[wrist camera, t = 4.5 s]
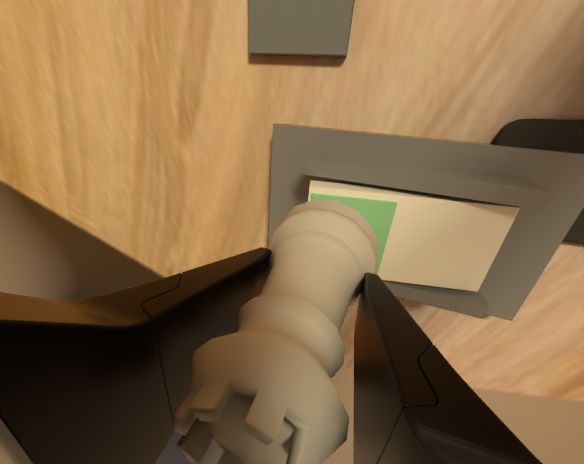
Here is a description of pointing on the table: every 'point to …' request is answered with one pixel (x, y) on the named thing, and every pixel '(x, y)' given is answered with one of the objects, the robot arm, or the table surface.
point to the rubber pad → (299, 27)
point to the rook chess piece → (283, 348)
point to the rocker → (426, 232)
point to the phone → (548, 148)
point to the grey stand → (450, 182)
